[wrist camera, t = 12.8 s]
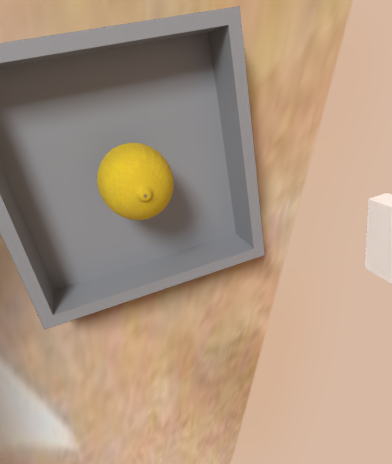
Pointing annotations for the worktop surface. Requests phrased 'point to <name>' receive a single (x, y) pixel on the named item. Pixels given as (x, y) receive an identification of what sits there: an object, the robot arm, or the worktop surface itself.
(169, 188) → the lemon
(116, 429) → the worktop surface
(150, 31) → the box
